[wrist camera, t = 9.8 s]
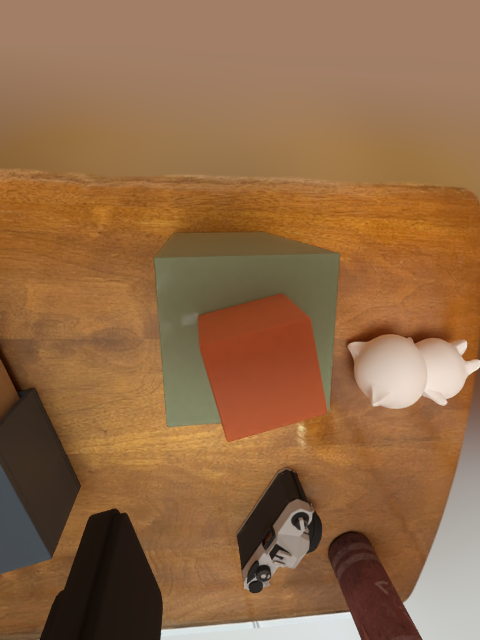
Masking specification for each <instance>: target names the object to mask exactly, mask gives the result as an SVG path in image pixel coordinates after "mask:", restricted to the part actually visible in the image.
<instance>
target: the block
mask: <svg viewBox="0 0 480 640" xmlns="http://www.w3.org/2000/svg"><path fill="white" fill-rule="evenodd" d="M198 332H199V347H200V352H201V355H202V359H203V362H204V365H205V369H206V372H207V375H208V379H209V382H210V386H211V389H212V392H213V396H214V399H215V402H216V406H217V409H218V413H219V416H220V419H221V423H222V426H223V429H224V433H225V436H226V440H227V441H228V442H231V441H234V440H237V439H241V438H244V437H248V436H251V435H255V434H258V433H262V432H265V431H269V430H272V429H276V428H279V427H283V426H286V425H290V424H293V423H297V422H300V421H303V420H307V419H310V418H314V417H317V416H321V415H324V414H327V413H328V410H327V404H326V399H325V394H324V388H323V383H322V377H321V372H320V367H319V361H318V356H317V350H316V345H315V340H314V334H313V329H312V323H311V318H310V317H309V316H308V315H307V314H306V313H304V312H303V311H302V310H301V309H300V308H299V307H298V306H297V305H295V304H294V303H293V302H292V301H291V300H290V299H289V298H288V297H286V296H285V295H284V294H283V293H281V294H277V295H273V296H269V297H266V298H262V299H258V300H254V301H251V302H247V303H243V304H239V305H236V306H232V307H228V308H225V309H221V310H217V311H213V312H210V313H206V314H202V315H199V316H198Z"/></svg>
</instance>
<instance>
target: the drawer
mask: <svg viewBox="0 0 480 640" xmlns="http://www.w3.org/2000/svg"><path fill="white" fill-rule="evenodd" d="M19 399H20V398H19V396H18V394H17V392H16V390H15V388H14V386H13V384H12V382H11V380H10V378H9V375H8V373H7V371H6V369H5V367H4V365H3V363H2V361H1V359H0V420H1V419H2V417H3V416H4V415H5V414H6V413H7V412H8V411H9V410H10V409H11V408H12V406H13V405H14V404H15V403H16V402H17V401H18V400H19Z"/></svg>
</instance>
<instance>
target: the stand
mask: <svg viewBox="0 0 480 640" xmlns="http://www.w3.org/2000/svg"><path fill="white" fill-rule="evenodd" d="M339 262H340V253H337V252H333V251H330V250H326V249H323V248H319V247H316V246H312V245H309V244H305V243H302V242H298V241H295V240H291V239H287V238H284V237H280V236H277V235H273V234H270V233H266V232H263V231H262V232H200V233H173V234H172V236H171V237H170V238H169V239H168V241H167V242H166V243H165V245H164V246H163V247H162V248H161V250H160V251H159V252H158V254H157V255H156V256H155V258H154V266H155V279H156V292H157V305H158V318H159V331H160V344H161V357H162V370H163V383H164V396H165V409H166V422H167V427H176V426H189V425H201V424H214V423H221V419H220V416H219V413H218V409H217V406H216V402H215V399H214V396H213V392H212V389H211V386H210V382H209V379H208V375H207V372H206V369H205V365H204V362H203V359H202V355H201V352H200V347H199V332H198V316H199V315H202V314H206V313H210V312H213V311H217V310H221V309H225V308H228V307H232V306H236V305H239V304H243V303H247V302H251V301H254V300H258V299H262V298H266V297H269V296H273V295H277V294H281V293H283V294H284V295H285V296H286V297H288V298H289V299H290V300H291V301H292V302H293V303H294V304H295V305H297V306H298V307H299V308H300V309H301V310H302V311H303V312H304V313H306V314H307V315H308V316H309V317H310V318H311V323H312V329H313V334H314V340H315V345H316V350H317V356H318V361H319V367H320V372H321V377H322V383H323V388H324V394H325V399H326V404H327V410H328V413H327V414H329V403H330V389H331V375H332V361H333V347H334V333H335V319H336V305H337V291H338V276H339ZM324 415H325V414H324Z"/></svg>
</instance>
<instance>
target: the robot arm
mask: <svg viewBox="0 0 480 640" xmlns="http://www.w3.org/2000/svg"><path fill="white" fill-rule="evenodd" d="M162 612H163V603H162V596H161V592H160V589H159V587H158V584H157V582H156V580H155V577H154V575H153V573H152V570H151V568H150V566H149V563H148V561H147V559H146V556H145V554H144V552H143V549H142V547H141V545H140V542H139V540H138V538H137V535H136V533H135V531H134V528H133V526H132V524H131V521H130V519H129V517H128V515H127V514H126V513H121V514H120V512H119V510H117V509H111V510H108V511H104V512H101V513H97V514H94V515H91V516H90V517H89V519H88V521H87V524H86V527H85V530H84V533H83V536H82V539H81V542H80V545H79V548H78V550H77V553H76V556H75V559H74V562H73V565H72V568H71V571H70V574H69V577H68V580H67V583H66V586H65V588H64V590H62V591H61V592H60V593H59V594H58V595H57V596H56V598H55V600H54V602H53V605H52V607H51V610H50V613H49V615H48V618H47V621H46V624H45V627H44V629H43V632H42V635H41V638H40V640H160V638H161V625H162Z"/></svg>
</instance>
